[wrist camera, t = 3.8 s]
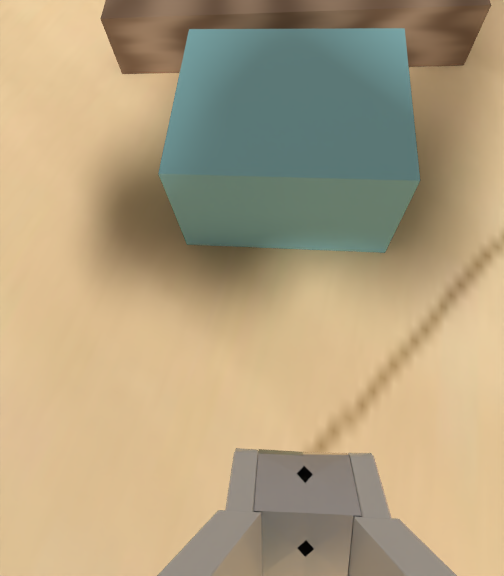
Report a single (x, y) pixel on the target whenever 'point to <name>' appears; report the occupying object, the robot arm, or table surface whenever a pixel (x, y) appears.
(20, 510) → the table surface
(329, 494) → the robot arm
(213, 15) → the walnut board
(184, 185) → the teal block
